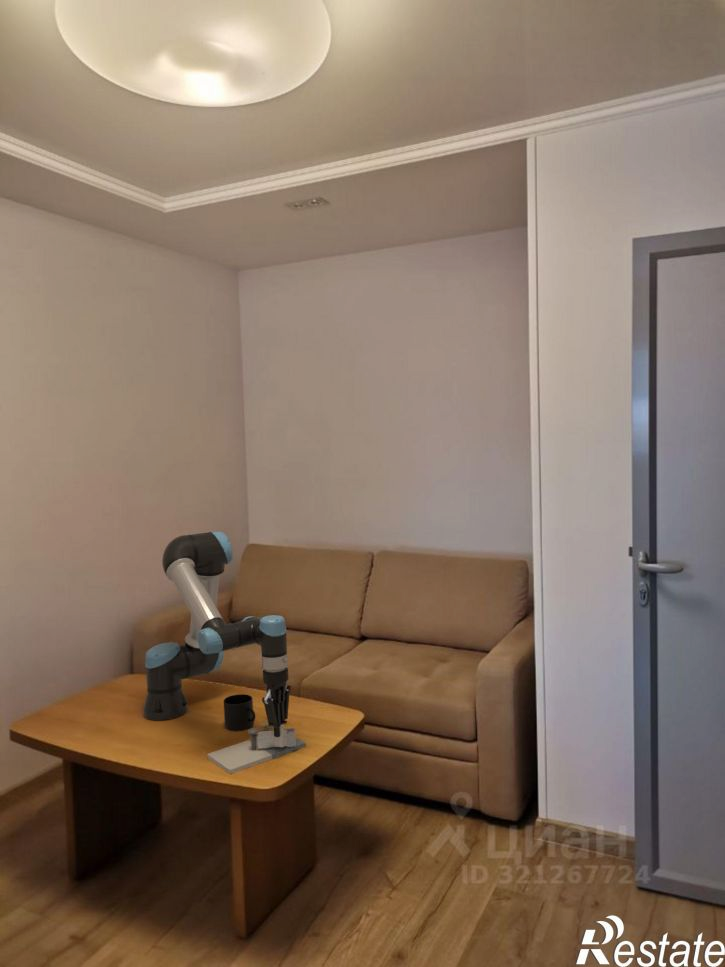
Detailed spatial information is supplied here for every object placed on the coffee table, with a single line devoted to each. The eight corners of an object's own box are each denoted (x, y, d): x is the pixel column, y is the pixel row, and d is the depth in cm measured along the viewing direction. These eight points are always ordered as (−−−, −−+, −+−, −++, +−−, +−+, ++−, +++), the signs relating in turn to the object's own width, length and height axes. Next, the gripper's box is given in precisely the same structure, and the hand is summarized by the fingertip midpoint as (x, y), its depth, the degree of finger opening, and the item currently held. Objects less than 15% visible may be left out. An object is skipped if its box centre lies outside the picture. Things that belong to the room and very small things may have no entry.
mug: (245, 735, 234) (244, 708, 233) (218, 728, 241) (217, 701, 240) (265, 725, 242) (264, 698, 241) (239, 718, 248) (237, 692, 248)
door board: (207, 757, 219) (205, 734, 218) (280, 732, 235) (279, 711, 234) (230, 774, 208) (228, 750, 207) (305, 746, 224) (304, 724, 224)
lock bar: (257, 749, 219) (257, 736, 218) (257, 743, 223) (257, 730, 223) (296, 746, 220) (295, 733, 220) (295, 740, 225) (294, 727, 224)
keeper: (260, 739, 227) (259, 724, 227) (268, 736, 229) (267, 721, 229) (264, 741, 226) (263, 726, 225) (272, 739, 228) (271, 723, 227)
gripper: (274, 676, 210) (279, 756, 212) (296, 663, 222) (301, 739, 223) (252, 673, 213) (257, 753, 215) (275, 661, 225) (279, 736, 226)
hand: (279, 745), depth 219 cm, fingers closed
